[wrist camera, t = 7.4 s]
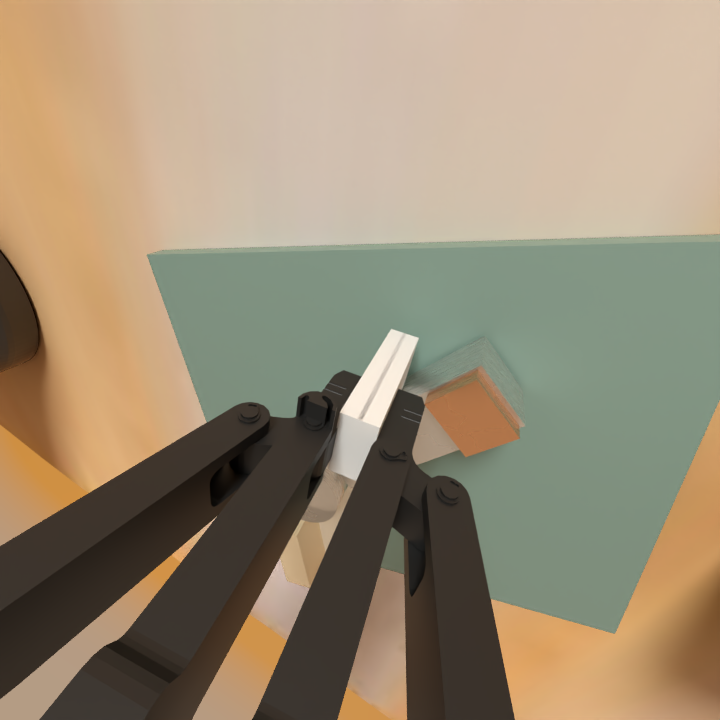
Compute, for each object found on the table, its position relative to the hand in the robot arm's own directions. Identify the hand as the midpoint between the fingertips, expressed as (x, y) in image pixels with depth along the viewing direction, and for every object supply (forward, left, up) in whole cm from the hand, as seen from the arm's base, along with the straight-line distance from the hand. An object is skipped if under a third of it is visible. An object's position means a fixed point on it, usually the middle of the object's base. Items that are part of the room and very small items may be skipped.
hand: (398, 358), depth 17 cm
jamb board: (+4, -6, -2) cm, 8 cm away
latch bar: (+2, -4, -1) cm, 5 cm away
